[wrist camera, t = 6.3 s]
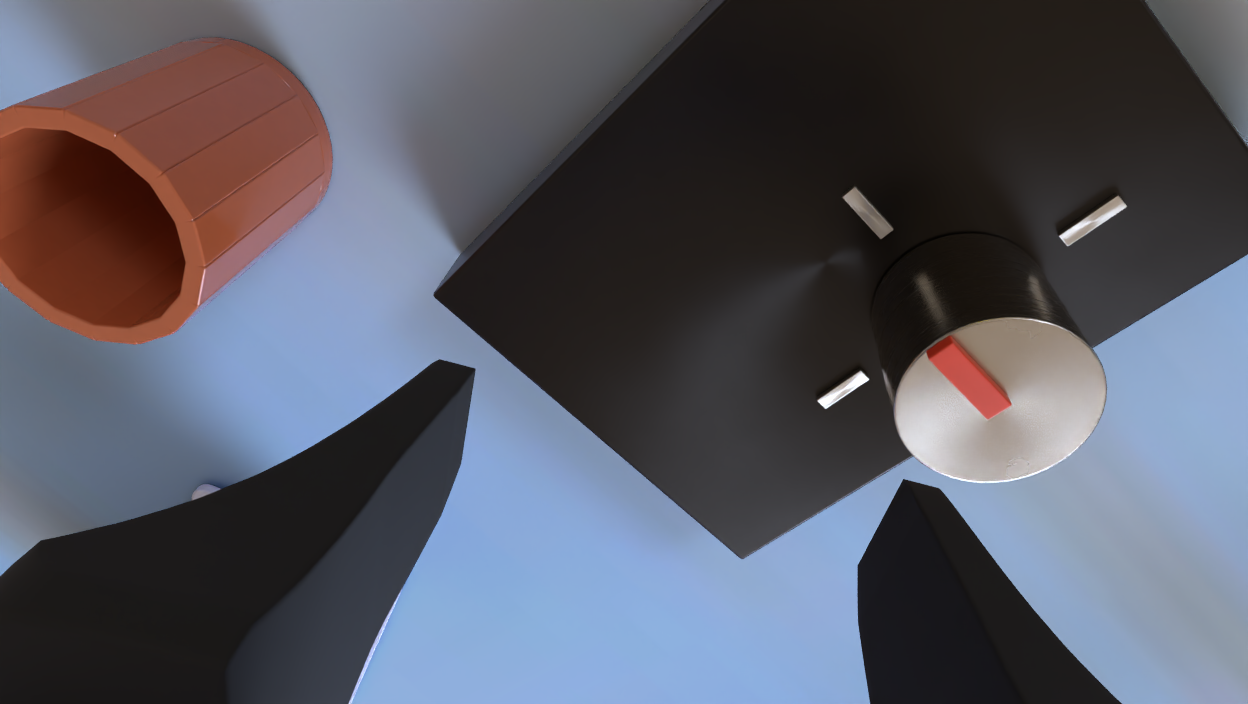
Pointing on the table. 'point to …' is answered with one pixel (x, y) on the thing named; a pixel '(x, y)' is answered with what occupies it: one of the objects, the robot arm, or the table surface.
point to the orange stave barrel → (155, 186)
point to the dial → (983, 361)
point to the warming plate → (839, 225)
